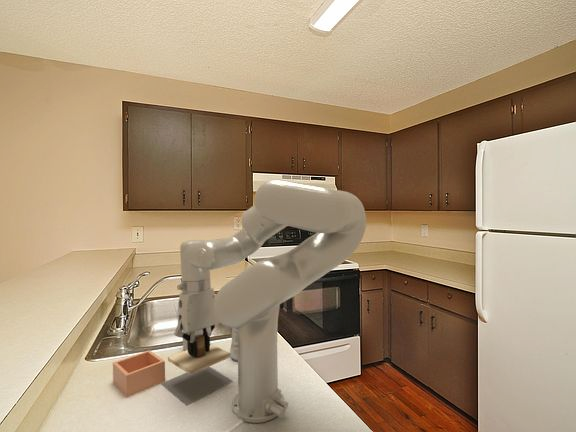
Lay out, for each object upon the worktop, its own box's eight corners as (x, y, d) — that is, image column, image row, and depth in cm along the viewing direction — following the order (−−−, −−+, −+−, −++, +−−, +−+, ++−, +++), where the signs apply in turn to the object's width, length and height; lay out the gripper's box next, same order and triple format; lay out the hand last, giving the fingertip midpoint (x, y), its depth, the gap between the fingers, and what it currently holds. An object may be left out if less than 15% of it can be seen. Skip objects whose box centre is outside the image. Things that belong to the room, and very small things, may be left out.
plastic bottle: (240, 352, 102) (239, 293, 102) (255, 357, 98) (254, 296, 98) (225, 360, 97) (225, 297, 96) (241, 366, 93) (240, 301, 92)
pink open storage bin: (165, 382, 84) (164, 361, 84) (126, 399, 77) (126, 375, 77) (149, 370, 91) (149, 350, 91) (113, 384, 84) (112, 362, 83)
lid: (230, 356, 83) (229, 334, 83) (190, 374, 74) (189, 350, 74) (206, 345, 91) (205, 325, 91) (167, 360, 82) (167, 338, 82)
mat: (233, 383, 83) (233, 381, 83) (186, 407, 73) (186, 405, 73) (205, 365, 93) (205, 364, 93) (160, 385, 83) (160, 383, 83)
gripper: (174, 294, 74) (177, 369, 74) (229, 281, 86) (232, 346, 86) (160, 290, 79) (163, 360, 79) (214, 278, 91) (217, 339, 91)
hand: (199, 352), depth 82 cm, fingers closed on lid, 3 cm apart
